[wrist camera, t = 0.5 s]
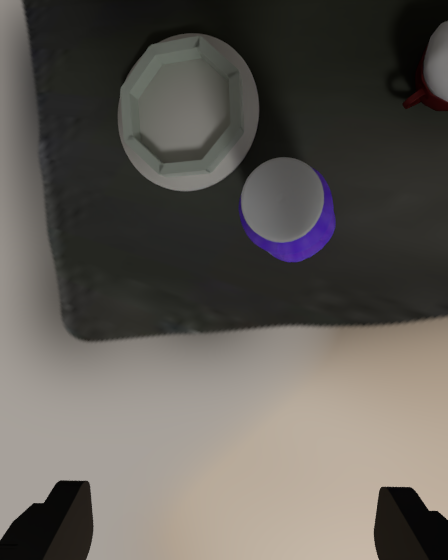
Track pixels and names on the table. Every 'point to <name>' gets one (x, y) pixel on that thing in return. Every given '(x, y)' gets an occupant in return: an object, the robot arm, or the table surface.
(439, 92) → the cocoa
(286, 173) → the bottle
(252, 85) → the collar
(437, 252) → the table surface
